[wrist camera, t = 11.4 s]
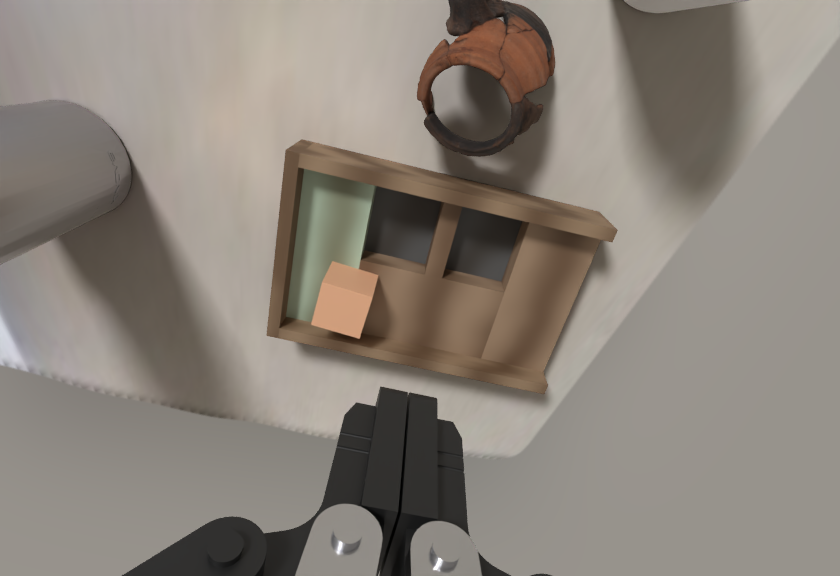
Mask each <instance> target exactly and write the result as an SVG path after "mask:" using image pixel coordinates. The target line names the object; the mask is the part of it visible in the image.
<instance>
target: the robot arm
mask: <svg viewBox="0 0 840 576" xmlns="http://www.w3.org/2000/svg"><path fill="white" fill-rule="evenodd" d="M131 175H132V173H131V167H130V161H129V158H128V155H127V153H126V150H125V148H124V146H123V145H122V143H121V141H120V139H119V138H118V136H117V135H116V134H115V133H114V131H113V130H112V129H111V128H110V126H108V125H107V124H106V123H105V122H104V121H103V120H102V119H101V118H100V117H98V116H97V115H95V114H94V113H92V112H91V111H89V110H88V109H86V108H83V107H81V106H79V105H77V104H74V103H70V102H65V101H53V100H49V101H41V102H33V103H25V104H17V105H8V106H0V265H1V264H3V263H5V262H7V261H9V260H11V259H13V258H15V257H18V256H20V255H22V254H24V253H26V252H28V251H30V250H32V249H34V248H36V247H38V246H40V245H42V244H44V243H46V242H48V241H50V240H52V239H54V238H56V237H58V236H60V235H62V234H64V233H66V232H69V231H71V230H73V229H75V228H77V227H79V226H81V225H83V224H85V223H87V222H89V221H91V220H93V219H95V218H97V217H99V216H101V215H103V214H105V213H107V212H109V211H111V210H113V209H115V208H116V207H117V206H119V205H120V204H121V203H122V202H123V201H124V199H125V198H126V196H127V195H128V192H129V189H130V186H131ZM463 472H464V463H463V448H462V438H461V436H460V434H459V432H458V430H457V429H456V427H455V425H454V423H453V422H450V421H445V420H440V419H437V398H434V397H429V396H424V395H419V394H414V393H409V395H408V392H404V391H399V390H394V389H389V388H385V387H380V390H379V394H378V398H377V402H376V406H371V405H366V404H361V403H355V405H354V406H353V407H352V408H351V409H350V410H349V411H348V412H347V413H346V414H345V416H344V420H343V424H342V428H341V432H340V436H339V440H338V444H337V448H336V452H335V456H334V460H333V463H332V468H331V471H330V476H329V480H328V484H327V487H326V491H325V496H324V499H323V502H322V505H321V507H320V509H319V511H318V512H317V513H316V514H315V516H314V517H312V518H311V519H310V520H309V521H308V522H306V523H305V524H303V525H301V526H299V527H297V528H294V529H291V530H286V531H279V532H272V533H265V534H264V533H263V532H262V530H261V529H260V528H259V527H258V526H257V525H256V524H254V523H253V522H252V521H250V520H247V519H244V518H240V517H224V518H219V519H216V520H214V521H211V522H209V523H207V524H205V525H204V526H202V527H200V528H199V529H197V530H196V531H194V532H192V533H191V534H189V535H187V536H186V537H184V538H182V539H181V540H179V541H178V542H176V543H174V544H173V545H171V546H170V547H168V548H166V549H165V550H163V551H161V552H160V553H158V554H157V555H155V556H153V557H152V558H150V559H149V560H147V561H145V562H143V563H142V564H140V565H139V566H137V567H135V568H134V569H132V570H131V571H129V572H127V573H126V574H124V575H122V576H378V574H379V571H380V575H379V576H511V575H508V574H507V573H505V572H503V571H501V570H499V569H497V568H496V567H494V566H492V565H491V564H490V563H489V562H487V561H486V560H485V559H484V558H483V557H482V556H481V555H480V554H479V552H478V551H477V549H476V546H475V544H474V542H473V541H472V539H471V538H470V535H469V532H468V524H467V509H466V495H465V494H466V493H465V478H464V473H463ZM531 576H551V575H548V574H535V575H531Z"/></svg>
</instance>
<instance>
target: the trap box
mask: <svg viewBox="0 0 840 576" xmlns="http://www.w3.org/2000/svg"><path fill="white" fill-rule="evenodd" d="M617 231H618V230H617V229H616V228H615V227H614V226H613V225H612V224H611V223H610V222H609V221H608V220H607V219H606V218H605V217H604V216H603V215H602V214H601V213H600V212H597V211H593V210H589V209H585V208H581V207H577V206H573V205H569V204H564V203H560V202H556V201H552V200H548V199H544V198H540V197H536V196H532V195H528V194H523V193H519V192H515V191H511V190H507V189H503V188H499V187H495V186H491V185H487V184H482V183H478V182H474V181H470V180H466V179H462V178H458V177H454V176H450V175H446V174H441V173H437V172H433V171H429V170H425V169H421V168H417V167H413V166H409V165H405V164H400V163H396V162H392V161H388V160H384V159H380V158H376V157H372V156H368V155H363V154H359V153H355V152H351V151H347V150H343V149H339V148H335V147H331V146H327V145H322V144H318V143H314V142H310V141H306V140H300V141H299V142H297V143H296V144H294V145H293V146H291V147H290V148H288V149H287V150H286V153H285V163H284V172H283V182H282V192H281V201H280V211H279V221H278V230H277V240H276V250H275V259H274V269H273V279H272V288H271V298H270V308H269V317H268V327H267V336H270V337H275V338H280V339H285V340H289V341H294V342H299V343H304V344H308V345H313V346H318V347H323V348H327V349H332V350H337V351H342V352H346V353H351V354H356V355H361V356H365V357H370V358H375V359H380V360H384V361H389V362H394V363H399V364H403V365H408V366H413V367H417V368H422V369H427V370H432V371H436V372H441V373H446V374H451V375H455V376H460V377H465V378H470V379H474V380H479V381H484V382H489V383H493V384H498V385H503V386H508V387H512V388H517V389H522V390H527V391H531V392H536V393H541V394H544V393H545V391H546V389H547V386H548V384H547V381H546V378H545V375H544V369H545V367H546V365H547V362H548V360H549V358H550V356H551V353H552V351H553V349H554V346H555V344H556V342H557V339H558V337H559V335H560V333H561V330H562V328H563V326H564V323H565V321H566V319H567V317H568V314H569V312H570V310H571V307H572V305H573V303H574V301H575V298H576V296H577V294H578V291H579V289H580V287H581V285H582V282H583V280H584V278H585V275H586V273H587V271H588V268H589V266H590V264H591V262H592V259H593V257H594V255H595V252H596V250H597V248H598V246H599V243H600V241H601V240H604V241H609V242H613V240H614V237H615V235H616V233H617ZM332 261H334V262H337V263H340V264H344V265H347V266H350V267H353V268H357V269H360V270H363V271H366V272H370V273H373V274H376V275H378V279H377V283H376V287H375V290H374V294H373V298H372V301H371V304H370V307H369V311H368V314H367V317H366V320H365V323H364V326H363V329H362V332H361V336H360V339H358V338H355V337H351V336H348V335H345V334H341V333H338V332H334V331H331V330H327V329H324V328H320V327H317V326H314V325H311V323H312V319H313V315H314V311H315V307H316V304H317V300H318V296H319V292H320V288H321V284H322V281H323V279H324V277H325V275H326V273H327V271H328V269H329V267H330V265H331V263H332Z"/></svg>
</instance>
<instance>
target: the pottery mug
mask: <svg viewBox="0 0 840 576" xmlns="http://www.w3.org/2000/svg"><path fill="white" fill-rule="evenodd" d="M449 5H450V17H449V19H448V20H447V22H446V26H447V31H448V33H449V34H450V35H453V36H459V37H458V38H457V39H456V40H455V41H454V42H453V43H452V44H451V45H449V43H448V41H447V40H445V39H444V40H442V41H441V42H440V43H439V45H438V46H437V47H436V48H435V49H434V51H433V53H432V54H431V55H430V56H429V58H428V60H427V62H426V64H425V66H424V69H423V71H422V73H421V76H420V81H419V83H418V91H417V99H418V100H419V101H421V102H422V105H423V108H424V110H425V112H426V114H427V117H426V118H425V120H424V125H425V127H426V128H427V129H428V131H429V132H430V133H431V135H432V136H434V137H435V138H436V139H437V140H438V141H439V142H440V143H441V144H442V145H444V146H445V147H446V148H449V149H451V150H453V151H455V152H459V153H461V154H464V155H467V156H479V157H481V156H487V155H492V154H495V153H497V152H500V151H501V150H502V149H504V148H505V147H506V146H508V145H510V144H513V143H514V138H515V137H516V136H517V135H520V134H522V133H523V132H525V131H527V130H528V129H529V128H530V126H531V125H532V124H534V123H536V122H537V121H538V120H539V118H540V116H541V114H542V111H543V105H542V104H539V105H537V106H536V105H535V104H533V103H532V102H530V101H529V100H528V98H526V96H525V94H527V93H530V92H533V91H534V90H536V89H538V88H540V87H543V86H544V85H546V83H547V80H548V77H549V76H552V75H553V73H554V68H555V57H554V48H553V45H552V40H551V38H550V35H549V32H548V30H547V28H546V26H545V25H544V23H543V22H542V20H541V19H540V18H539V17H538V16H537V15H536V14H535V13H534V12H532V11H531V10H529V9H528V8H526V7H524V6H522V5H518V4H515V3H510V2H507V1H506V2H505V1H502V0H449ZM498 17H504V18H505V24H504V23H503V21H501V20H500V19H497V18H498ZM453 65H454V66H457V65H467V66H473V67H476V68H479V69H481V70H483V71H485V72H487V73H489V74H490V75H492V76H493V77H494V78H495V79H496V80H498V81H499V83H500V84H501V85H502V87H503V88H504V90H505V92H506V93H507V96H508V98H509V101H510V103H511V119H510V123H509V125H508V127H507V129H506V130H505V132H504V133H503V134H502V135H501V136H499V137H497V138H495V139H492V140H489V141H485V142H476V141H471V140H467V139H465V138H462V137H460V136H458V135H456V134H454V133H453V132H451V131H450V130H449V129H447V128H446V127H445V126H444V125H443V124H442V123H441V121H440V120H439V119H438V117H437V116H436V114H435V112H434V111H433V108H432V92H431V87H432V84H433V81H434V80H435V78H436V77H437V76H438V75H439V74H440V73H441V72H442V71H444V70H445V69H448V68H450V67H452V66H453Z"/></svg>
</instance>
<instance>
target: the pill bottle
mask: <svg viewBox="0 0 840 576" xmlns="http://www.w3.org/2000/svg"><path fill="white" fill-rule="evenodd" d="M624 1H625V2H626V3H627V4H629V5H630V6H632V7H633V8H635V9H638V10H641V11H644V12H650V13H667V12H674V11H681V10H687V9H694V8H701V7H708V6H715V5H722V4H728V3H735V2H742V1H748V0H624Z"/></svg>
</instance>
